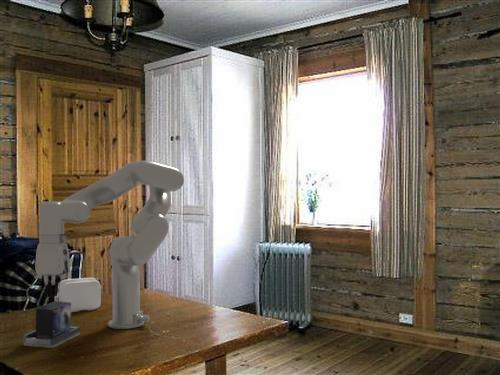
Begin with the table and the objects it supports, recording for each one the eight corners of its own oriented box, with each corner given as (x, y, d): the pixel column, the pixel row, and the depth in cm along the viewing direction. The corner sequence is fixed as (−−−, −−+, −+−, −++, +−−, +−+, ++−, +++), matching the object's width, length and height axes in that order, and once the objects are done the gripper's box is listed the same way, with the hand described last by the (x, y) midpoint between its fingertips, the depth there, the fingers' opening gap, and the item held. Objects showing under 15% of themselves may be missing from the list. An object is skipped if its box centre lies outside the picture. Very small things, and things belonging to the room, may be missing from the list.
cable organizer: (61, 313, 198) (61, 283, 198) (59, 307, 207) (59, 279, 207) (100, 309, 204) (100, 280, 204) (97, 304, 214) (96, 276, 214)
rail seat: (79, 334, 170) (79, 324, 170) (53, 347, 156) (53, 337, 156) (52, 332, 172) (52, 322, 172) (23, 345, 158) (23, 335, 158)
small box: (52, 342, 158) (52, 309, 158) (34, 341, 159) (34, 308, 159) (72, 333, 168) (71, 301, 168) (54, 332, 170) (54, 300, 170)
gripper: (79, 238, 166) (79, 295, 166) (39, 238, 169) (39, 293, 169) (65, 241, 158) (65, 300, 158) (24, 240, 162) (24, 297, 162)
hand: (52, 296), depth 164 cm, fingers closed
